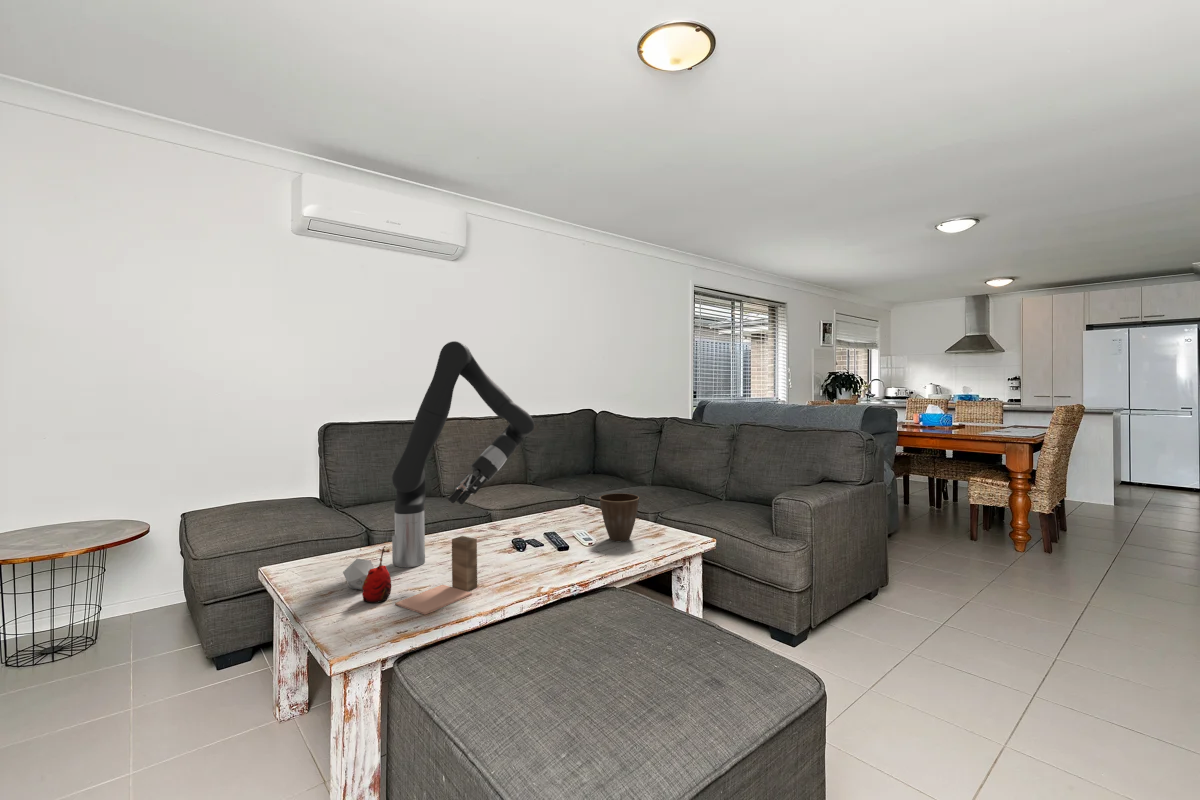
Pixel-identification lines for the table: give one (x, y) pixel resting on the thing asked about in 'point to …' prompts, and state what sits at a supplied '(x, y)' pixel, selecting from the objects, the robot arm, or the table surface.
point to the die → (357, 573)
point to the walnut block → (464, 563)
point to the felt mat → (433, 599)
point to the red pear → (377, 583)
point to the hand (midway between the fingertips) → (454, 502)
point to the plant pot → (619, 514)
